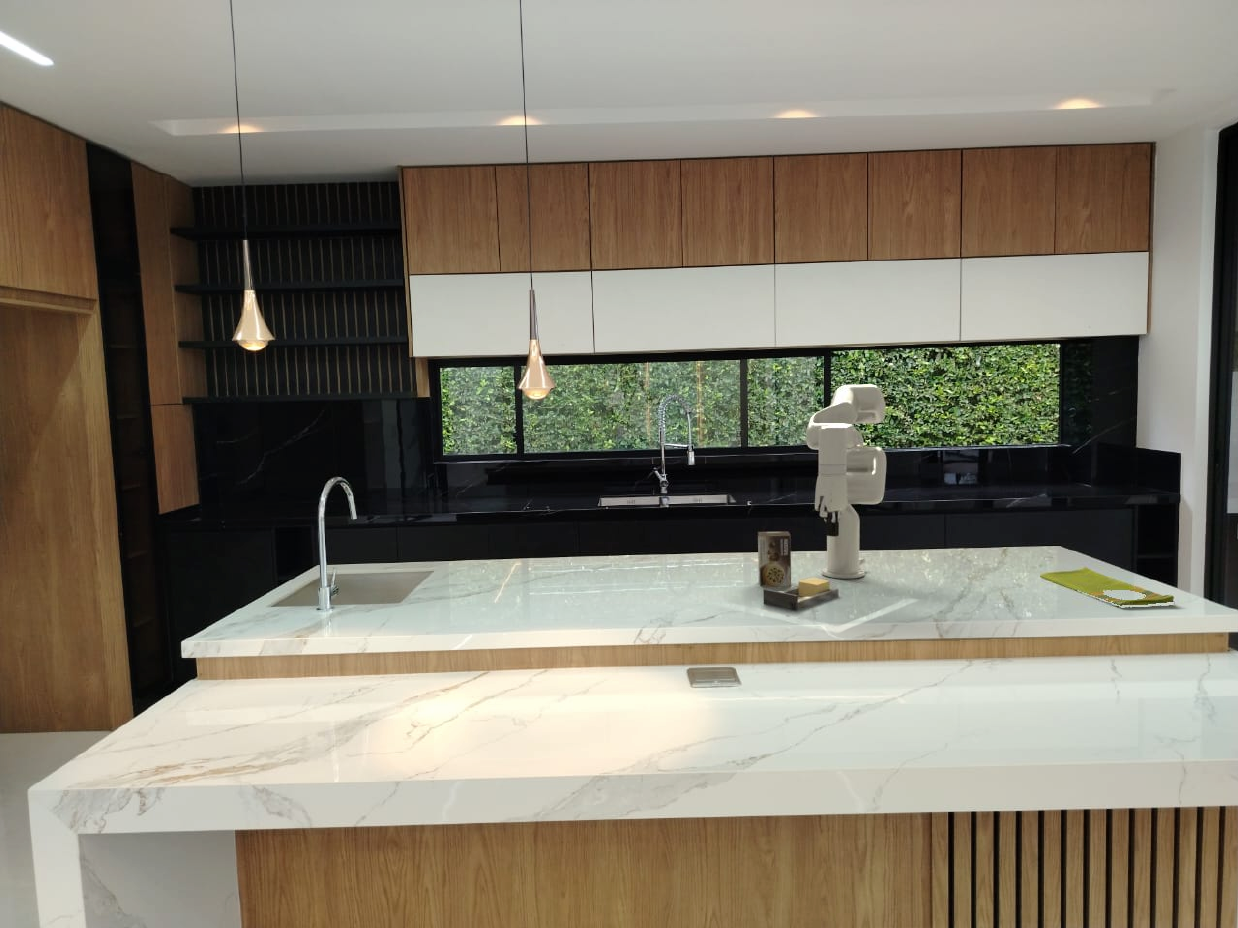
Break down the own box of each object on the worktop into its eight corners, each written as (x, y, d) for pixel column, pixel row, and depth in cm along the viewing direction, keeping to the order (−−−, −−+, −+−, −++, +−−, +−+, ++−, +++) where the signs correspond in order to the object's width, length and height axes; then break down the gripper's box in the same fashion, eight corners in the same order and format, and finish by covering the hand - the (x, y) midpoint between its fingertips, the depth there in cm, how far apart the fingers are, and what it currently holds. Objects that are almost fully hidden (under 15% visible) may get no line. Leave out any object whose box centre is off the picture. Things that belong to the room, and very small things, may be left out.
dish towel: (1121, 611, 221) (1121, 599, 220) (1038, 578, 256) (1038, 568, 256) (1176, 608, 222) (1177, 595, 222) (1086, 576, 258) (1087, 565, 257)
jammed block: (810, 591, 240) (810, 577, 239) (829, 595, 235) (829, 580, 235) (798, 595, 236) (798, 581, 235) (817, 599, 231) (817, 584, 231)
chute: (800, 592, 243) (800, 574, 243) (844, 601, 233) (844, 582, 233) (757, 607, 230) (757, 588, 229) (802, 617, 220) (802, 597, 219)
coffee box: (789, 585, 253) (789, 531, 251) (791, 590, 246) (791, 535, 245) (757, 585, 254) (757, 531, 252) (759, 590, 247) (759, 535, 245)
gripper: (835, 467, 246) (835, 530, 248) (805, 471, 236) (805, 537, 237) (858, 468, 241) (858, 533, 242) (829, 473, 230) (829, 541, 232)
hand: (832, 535), depth 240 cm, fingers closed
